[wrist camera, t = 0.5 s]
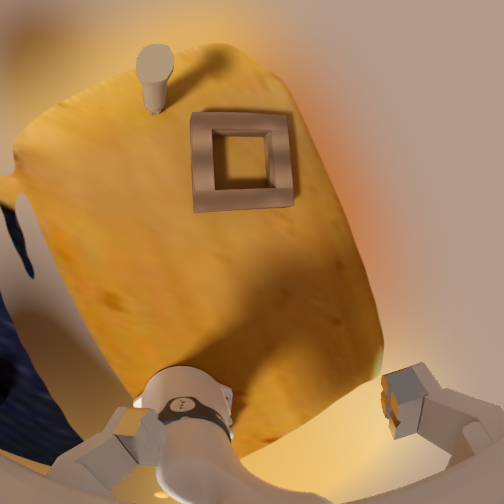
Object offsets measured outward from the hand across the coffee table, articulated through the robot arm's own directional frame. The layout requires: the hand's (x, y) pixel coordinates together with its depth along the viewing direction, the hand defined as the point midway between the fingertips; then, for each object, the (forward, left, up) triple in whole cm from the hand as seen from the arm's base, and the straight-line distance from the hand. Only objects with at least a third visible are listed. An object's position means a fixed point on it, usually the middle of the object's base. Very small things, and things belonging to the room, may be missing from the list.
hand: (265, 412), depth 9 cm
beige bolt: (+28, +3, -40) cm, 49 cm away
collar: (+17, -11, -40) cm, 45 cm away
